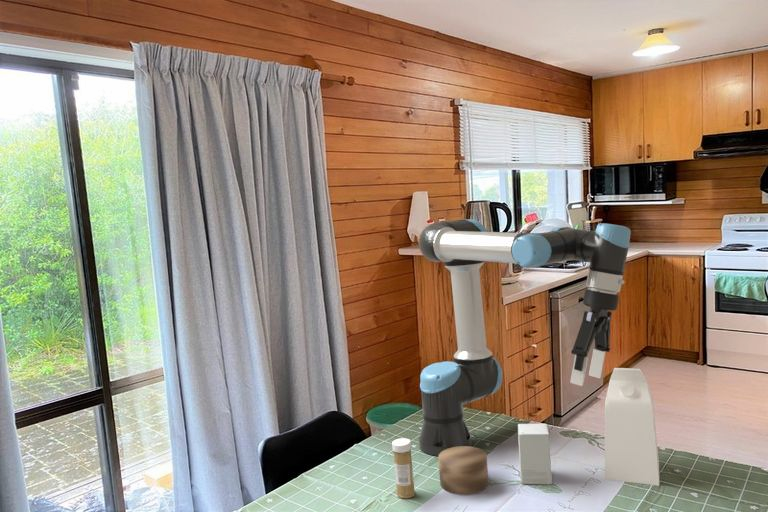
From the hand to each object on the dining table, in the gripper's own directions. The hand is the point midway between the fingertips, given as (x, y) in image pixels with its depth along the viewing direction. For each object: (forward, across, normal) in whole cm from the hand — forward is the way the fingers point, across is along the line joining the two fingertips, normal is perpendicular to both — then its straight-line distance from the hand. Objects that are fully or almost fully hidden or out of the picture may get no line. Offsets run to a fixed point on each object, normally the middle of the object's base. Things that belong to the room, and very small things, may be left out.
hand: (585, 380), depth 134 cm
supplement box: (+28, +3, +8) cm, 30 cm away
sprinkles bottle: (+36, -18, +32) cm, 51 cm away
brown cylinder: (+32, -7, +23) cm, 40 cm away
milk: (+22, +16, -10) cm, 30 cm away
